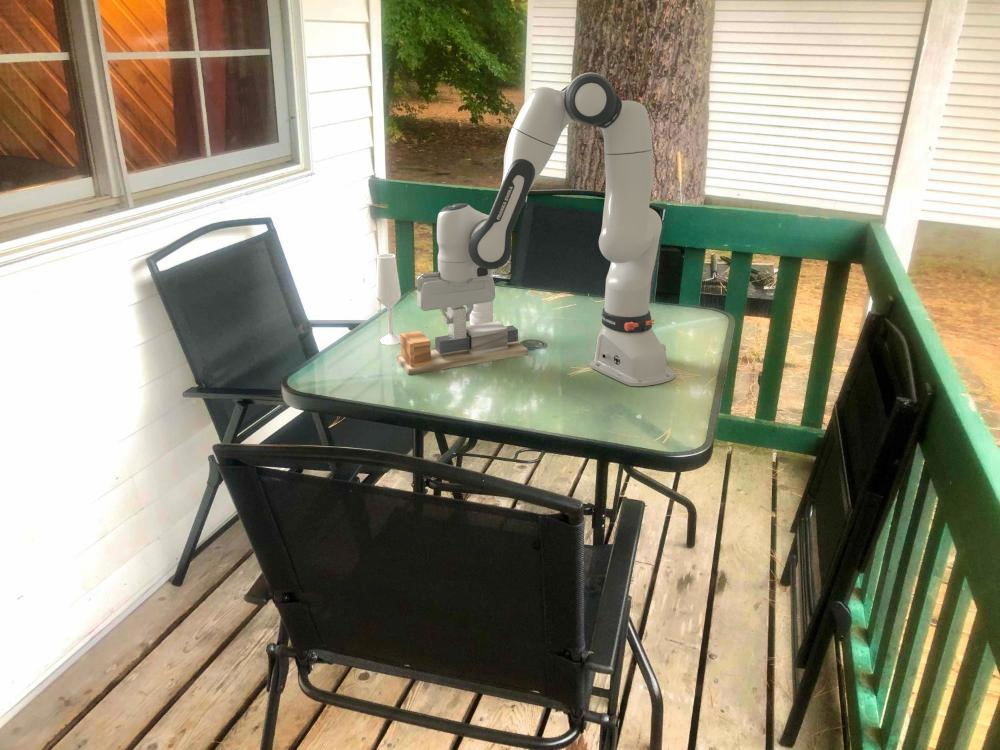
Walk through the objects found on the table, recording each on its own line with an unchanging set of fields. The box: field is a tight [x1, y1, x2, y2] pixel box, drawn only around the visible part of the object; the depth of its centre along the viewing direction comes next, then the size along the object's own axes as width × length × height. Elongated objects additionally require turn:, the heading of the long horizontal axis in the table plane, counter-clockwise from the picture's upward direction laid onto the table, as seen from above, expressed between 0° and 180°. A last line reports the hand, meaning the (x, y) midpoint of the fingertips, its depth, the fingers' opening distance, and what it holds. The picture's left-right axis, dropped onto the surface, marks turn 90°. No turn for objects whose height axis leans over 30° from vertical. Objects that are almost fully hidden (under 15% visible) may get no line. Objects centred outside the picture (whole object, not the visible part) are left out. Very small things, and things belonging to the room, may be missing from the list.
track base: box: [396, 321, 529, 375], centre depth 201 cm, size 10×33×8 cm, turn 114°
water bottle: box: [469, 269, 494, 326], centre depth 212 cm, size 9×6×25 cm
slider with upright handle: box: [434, 306, 519, 354], centre depth 200 cm, size 4×22×11 cm, turn 114°
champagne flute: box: [375, 253, 402, 346], centre depth 209 cm, size 7×7×24 cm
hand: (457, 322), depth 198 cm, fingers closed on slider with upright handle, 3 cm apart
